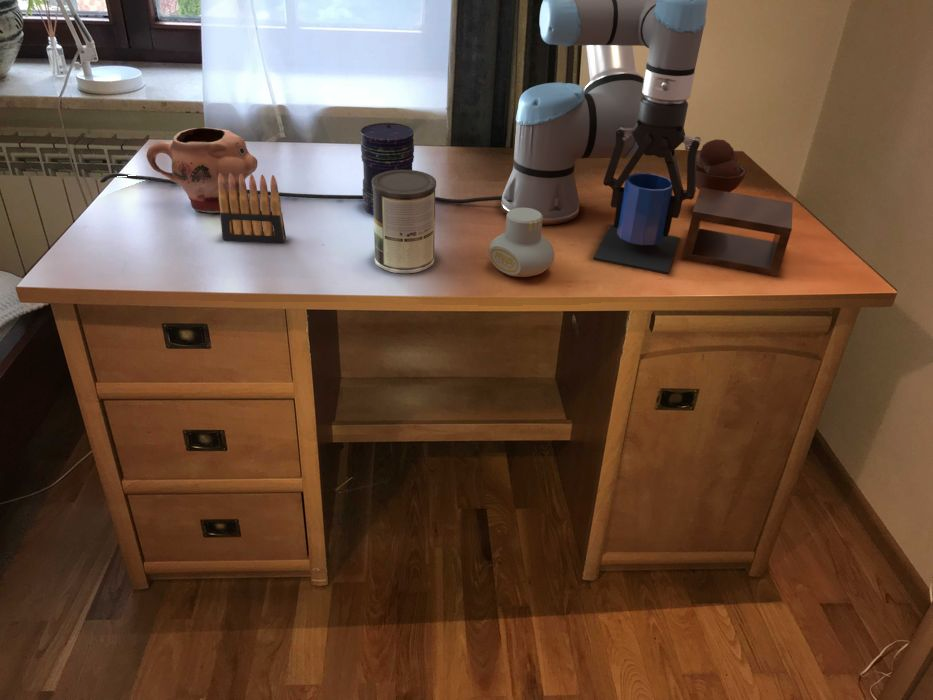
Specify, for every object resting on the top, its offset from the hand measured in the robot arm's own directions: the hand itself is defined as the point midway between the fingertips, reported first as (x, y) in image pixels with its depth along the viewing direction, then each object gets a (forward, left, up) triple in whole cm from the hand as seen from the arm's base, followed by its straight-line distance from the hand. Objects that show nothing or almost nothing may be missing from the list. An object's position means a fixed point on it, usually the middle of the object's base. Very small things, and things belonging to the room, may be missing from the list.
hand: (641, 228), depth 134 cm
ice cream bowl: (+10, +23, -4) cm, 25 cm away
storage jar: (-48, -2, -4) cm, 48 cm away
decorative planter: (-79, -16, -4) cm, 81 cm away
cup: (0, 0, -1) cm, 1 cm away
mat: (0, 0, -4) cm, 4 cm away
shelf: (+16, +6, -4) cm, 17 cm away
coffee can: (-36, -21, -4) cm, 42 cm away
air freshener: (-17, -16, -4) cm, 24 cm away
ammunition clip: (-63, -25, -4) cm, 68 cm away
